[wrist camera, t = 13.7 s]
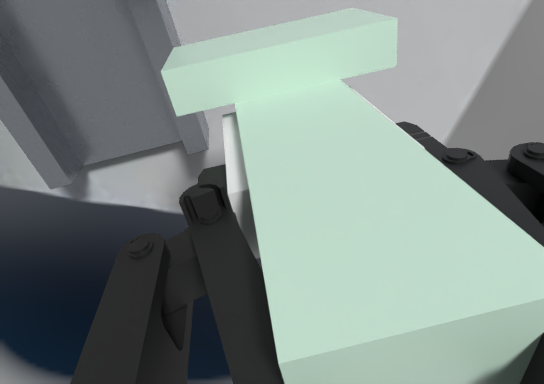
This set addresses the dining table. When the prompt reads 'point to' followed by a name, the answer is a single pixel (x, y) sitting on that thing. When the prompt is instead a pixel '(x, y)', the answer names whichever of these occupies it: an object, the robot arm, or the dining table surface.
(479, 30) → the dining table surface
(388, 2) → the dining table surface
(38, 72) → the slot rail
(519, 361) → the mint t-shaped block
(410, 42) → the dining table surface
